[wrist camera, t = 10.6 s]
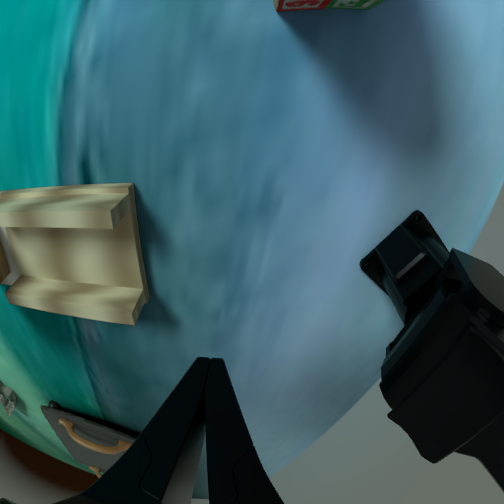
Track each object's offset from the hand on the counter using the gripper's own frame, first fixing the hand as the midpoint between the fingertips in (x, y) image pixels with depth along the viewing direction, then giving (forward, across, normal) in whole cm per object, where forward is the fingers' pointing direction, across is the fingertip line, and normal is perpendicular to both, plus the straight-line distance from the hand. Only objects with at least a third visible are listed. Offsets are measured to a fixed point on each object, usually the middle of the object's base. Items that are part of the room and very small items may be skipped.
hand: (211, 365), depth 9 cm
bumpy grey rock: (+14, +49, +40) cm, 65 cm away
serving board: (+14, +26, +53) cm, 60 cm away
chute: (+13, +17, +3) cm, 22 cm away
